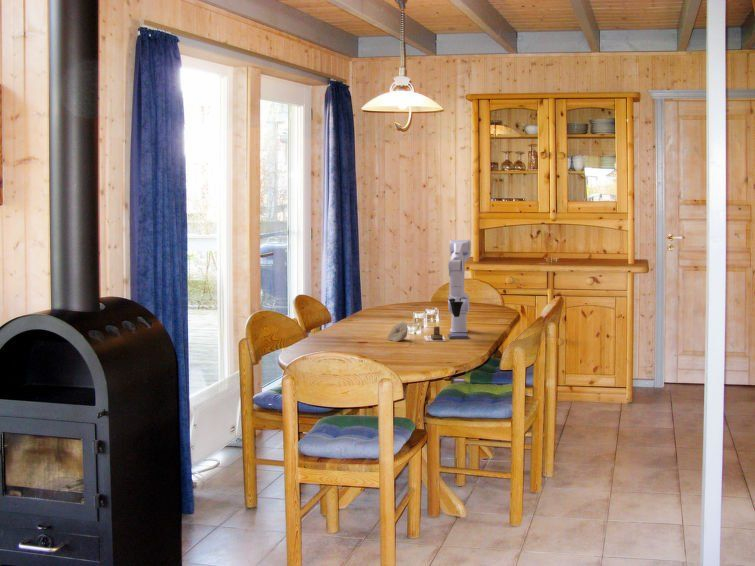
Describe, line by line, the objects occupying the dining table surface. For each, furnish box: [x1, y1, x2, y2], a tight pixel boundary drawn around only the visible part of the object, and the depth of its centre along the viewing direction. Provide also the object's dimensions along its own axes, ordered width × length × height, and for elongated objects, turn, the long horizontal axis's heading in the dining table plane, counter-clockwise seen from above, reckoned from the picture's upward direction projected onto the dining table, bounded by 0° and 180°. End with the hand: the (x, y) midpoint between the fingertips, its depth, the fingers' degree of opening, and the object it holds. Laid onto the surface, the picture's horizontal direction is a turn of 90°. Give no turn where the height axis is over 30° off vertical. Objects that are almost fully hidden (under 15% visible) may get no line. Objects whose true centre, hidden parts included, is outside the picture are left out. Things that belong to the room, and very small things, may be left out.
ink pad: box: [447, 332, 470, 340], centre depth 428 cm, size 9×9×1 cm
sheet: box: [423, 335, 447, 342], centre depth 426 cm, size 14×9×1 cm, turn 1°
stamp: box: [430, 325, 444, 340], centre depth 422 cm, size 4×4×6 cm
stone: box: [387, 321, 409, 342], centre depth 423 cm, size 10×7×10 cm
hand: (455, 315), depth 428 cm, fingers open, 7 cm apart
